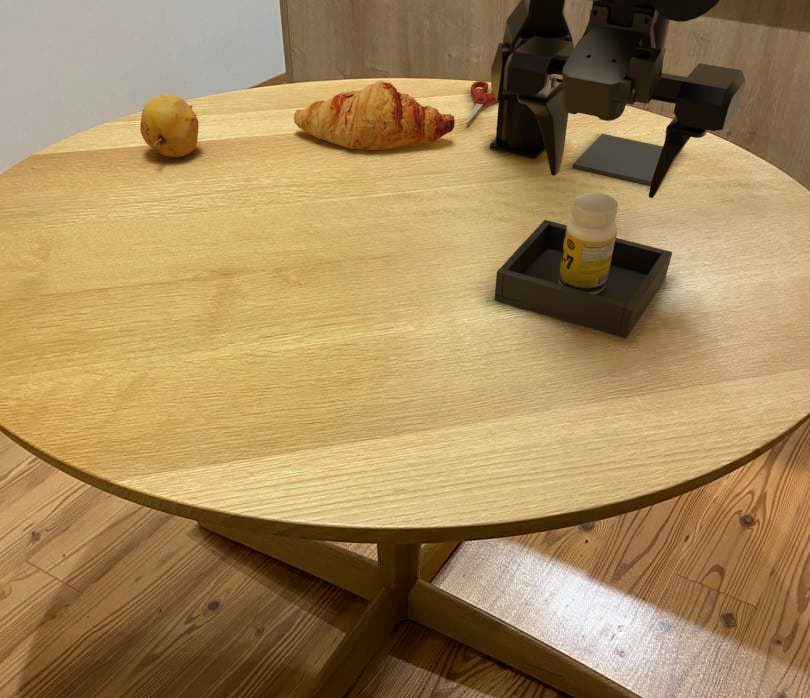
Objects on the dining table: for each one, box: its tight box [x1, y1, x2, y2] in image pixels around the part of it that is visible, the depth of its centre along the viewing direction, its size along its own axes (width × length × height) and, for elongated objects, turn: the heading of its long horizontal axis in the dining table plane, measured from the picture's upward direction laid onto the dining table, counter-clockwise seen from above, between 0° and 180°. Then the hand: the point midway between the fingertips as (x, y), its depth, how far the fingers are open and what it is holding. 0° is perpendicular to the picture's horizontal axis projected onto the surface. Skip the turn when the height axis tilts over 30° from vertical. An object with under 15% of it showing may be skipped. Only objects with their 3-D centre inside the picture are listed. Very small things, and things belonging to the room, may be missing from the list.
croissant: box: [293, 80, 456, 151], centre depth 101 cm, size 21×10×8 cm, turn 81°
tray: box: [494, 219, 673, 340], centre depth 78 cm, size 14×12×3 cm
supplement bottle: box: [558, 192, 619, 294], centre depth 75 cm, size 5×5×8 cm
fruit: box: [139, 94, 199, 158], centre depth 98 cm, size 7×7×10 cm
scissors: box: [465, 80, 498, 125], centre depth 109 cm, size 5×14×1 cm, turn 161°
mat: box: [572, 133, 663, 186], centre depth 98 cm, size 10×10×1 cm
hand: (602, 184), depth 71 cm, fingers open, 9 cm apart
